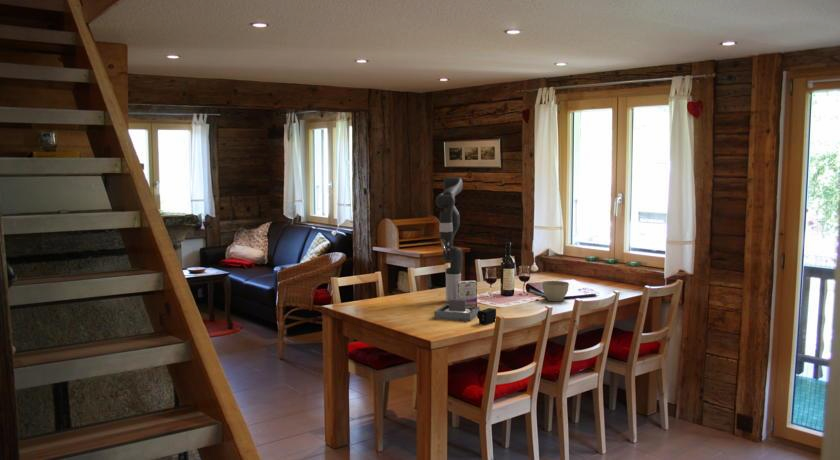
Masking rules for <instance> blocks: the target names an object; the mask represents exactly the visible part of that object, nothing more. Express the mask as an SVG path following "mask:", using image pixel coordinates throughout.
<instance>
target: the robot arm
mask: <svg viewBox="0 0 840 460" xmlns="http://www.w3.org/2000/svg"><path fill="white" fill-rule="evenodd" d="M463 185H464V184H463V180H462V178H461V177H457V176H456V177H455V176H453V177H451V176H450V177H445V178H444V179H443V192H441V193H439V194H438V195H437V196H436V197H435V205H436V206H437V207H438V208H440V209H441V208H443V209H444V211H442V212H440V213H439V239H440V240H441V241H442V242H441V243H442V257H443V260H444V261H446V262H448V263H451V266H450V267H448V268H446V269H445V302H446V303H449V299H457V281H462V271H463V270H462V269H463V261H464V260H463V259H464V257H463V256H464V255H463V250H462V248H460V247H458V246H457V247H456V246H454V239H455V235H456V233H457V232H458V230H459V228H460V223H461V221H460V218H461V215H460V211H458V209H457V207H456V206H455V204H456V198H455V197H456V196H457V195H459V194H460V193H461V192H462V190H463V188H464V187H463Z"/></svg>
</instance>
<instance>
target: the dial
mask: <svg viewBox="0 0 840 460" xmlns="http://www.w3.org/2000/svg"><path fill="white" fill-rule="evenodd" d="M448 305H449V309H446V310H445V312H458V313H469V312H470V310H469V309H466V300H457V299H449V302H448Z"/></svg>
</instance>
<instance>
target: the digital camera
mask: <svg viewBox="0 0 840 460" xmlns="http://www.w3.org/2000/svg"><path fill="white" fill-rule="evenodd" d="M476 317H477V319H478V324H479V325H483V326H487V325H490V324H493V322H494V323H496V322H495V319H496V320H497V309H496V308H492V307H491V308H490V307H489V308H485V309H482V310H481V309H480V310H479V311H478V313H477V316H476Z"/></svg>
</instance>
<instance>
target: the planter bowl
mask: <svg viewBox="0 0 840 460" xmlns="http://www.w3.org/2000/svg"><path fill="white" fill-rule="evenodd" d="M569 286H570V283H569V282H567V281H562V280H545V281H542V282H541V287H542V291H543V294H544V295H545V298H546V300H547V301H550V302H562V301H563V300H564V298H566V295H567V293H568V291H569Z"/></svg>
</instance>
